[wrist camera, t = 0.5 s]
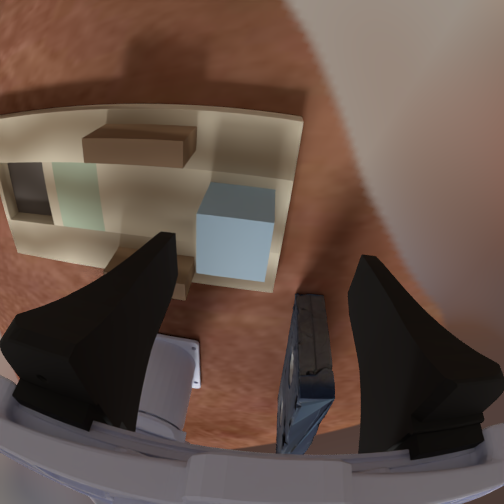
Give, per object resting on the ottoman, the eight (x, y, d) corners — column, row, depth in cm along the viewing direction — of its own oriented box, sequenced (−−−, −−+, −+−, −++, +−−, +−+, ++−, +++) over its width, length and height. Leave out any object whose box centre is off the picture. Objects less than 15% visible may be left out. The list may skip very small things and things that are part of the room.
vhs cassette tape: (297, 397, 37) (296, 469, 29) (273, 395, 37) (269, 468, 29) (330, 292, 26) (343, 397, 18) (295, 289, 26) (297, 396, 18)
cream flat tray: (272, 279, 26) (271, 322, 22) (26, 243, 26) (1, 272, 22) (301, 116, 18) (308, 135, 14) (-2, 115, 18) (-39, 134, 14)
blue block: (267, 242, 22) (264, 282, 19) (208, 235, 22) (196, 273, 19) (275, 189, 20) (274, 223, 16) (210, 182, 20) (196, 213, 16)
